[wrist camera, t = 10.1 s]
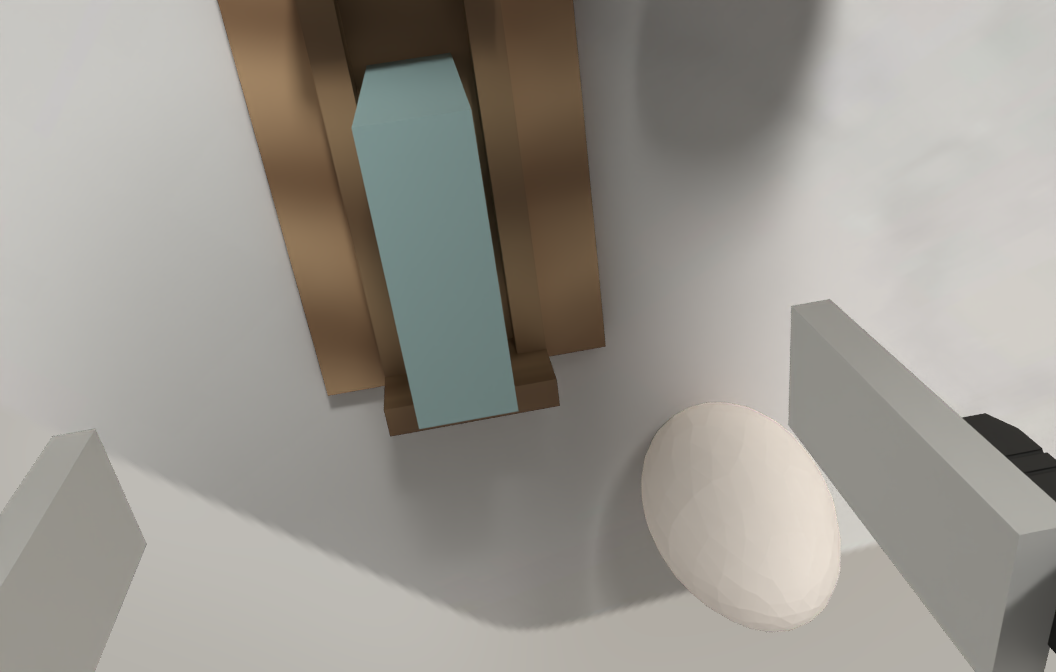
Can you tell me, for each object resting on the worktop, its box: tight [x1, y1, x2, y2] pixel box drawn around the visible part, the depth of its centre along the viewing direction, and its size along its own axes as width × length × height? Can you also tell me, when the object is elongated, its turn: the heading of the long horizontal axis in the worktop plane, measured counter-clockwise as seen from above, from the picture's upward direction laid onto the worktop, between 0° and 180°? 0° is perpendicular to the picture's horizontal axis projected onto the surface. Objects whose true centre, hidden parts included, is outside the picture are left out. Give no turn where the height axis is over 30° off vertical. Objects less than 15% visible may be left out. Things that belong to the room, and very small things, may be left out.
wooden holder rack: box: [218, 0, 606, 436], centre depth 30 cm, size 17×12×5 cm
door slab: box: [352, 53, 518, 429], centre depth 27 cm, size 9×3×10 cm, turn 7°
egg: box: [641, 402, 841, 632], centre depth 34 cm, size 7×7×12 cm
